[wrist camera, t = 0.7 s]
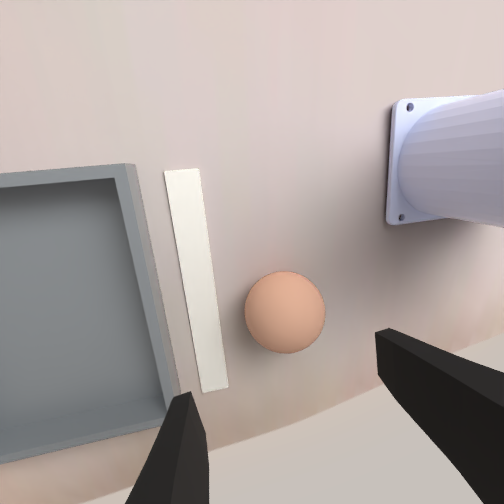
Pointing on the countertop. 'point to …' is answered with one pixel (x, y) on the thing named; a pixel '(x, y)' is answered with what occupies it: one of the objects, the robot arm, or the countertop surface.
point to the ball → (284, 312)
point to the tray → (78, 312)
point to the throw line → (197, 275)
